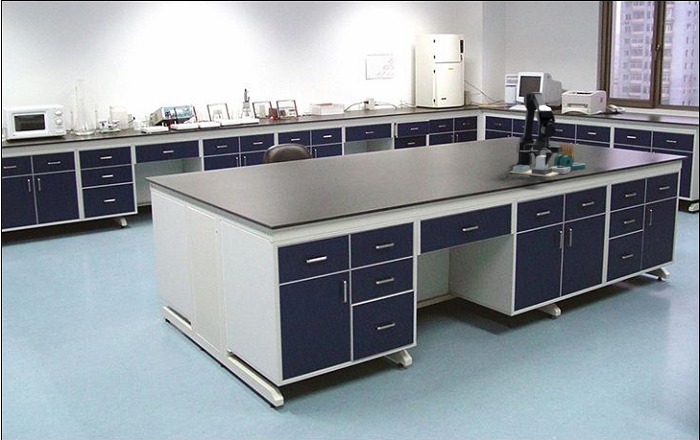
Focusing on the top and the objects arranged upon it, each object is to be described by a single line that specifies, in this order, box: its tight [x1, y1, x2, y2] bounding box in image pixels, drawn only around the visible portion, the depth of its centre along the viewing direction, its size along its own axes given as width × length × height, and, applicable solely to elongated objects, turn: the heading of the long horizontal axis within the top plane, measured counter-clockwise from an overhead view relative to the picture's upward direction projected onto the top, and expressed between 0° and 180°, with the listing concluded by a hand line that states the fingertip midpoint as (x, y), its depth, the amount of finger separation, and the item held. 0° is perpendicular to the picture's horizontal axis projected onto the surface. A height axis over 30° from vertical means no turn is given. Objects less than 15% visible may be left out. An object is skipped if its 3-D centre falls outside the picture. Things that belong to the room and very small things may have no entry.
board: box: [510, 169, 559, 178], centre depth 371 cm, size 22×10×1 cm, turn 50°
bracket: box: [553, 154, 586, 171], centre depth 383 cm, size 18×7×8 cm, turn 118°
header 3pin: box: [512, 164, 531, 172], centre depth 376 cm, size 6×7×2 cm
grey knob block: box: [550, 165, 572, 175], centre depth 374 cm, size 8×8×3 cm
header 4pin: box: [531, 167, 552, 175], centre depth 368 cm, size 7×9×2 cm
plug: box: [535, 154, 549, 170], centre depth 368 cm, size 4×7×7 cm, turn 140°
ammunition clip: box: [556, 141, 575, 163], centre depth 398 cm, size 11×2×12 cm, turn 32°
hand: (542, 164), depth 368 cm, fingers closed on plug, 4 cm apart
